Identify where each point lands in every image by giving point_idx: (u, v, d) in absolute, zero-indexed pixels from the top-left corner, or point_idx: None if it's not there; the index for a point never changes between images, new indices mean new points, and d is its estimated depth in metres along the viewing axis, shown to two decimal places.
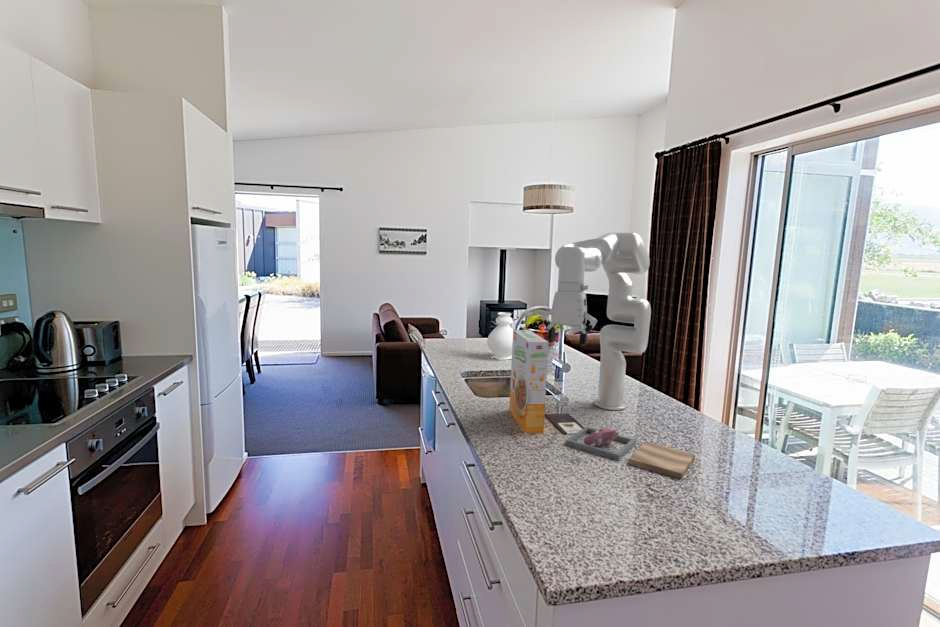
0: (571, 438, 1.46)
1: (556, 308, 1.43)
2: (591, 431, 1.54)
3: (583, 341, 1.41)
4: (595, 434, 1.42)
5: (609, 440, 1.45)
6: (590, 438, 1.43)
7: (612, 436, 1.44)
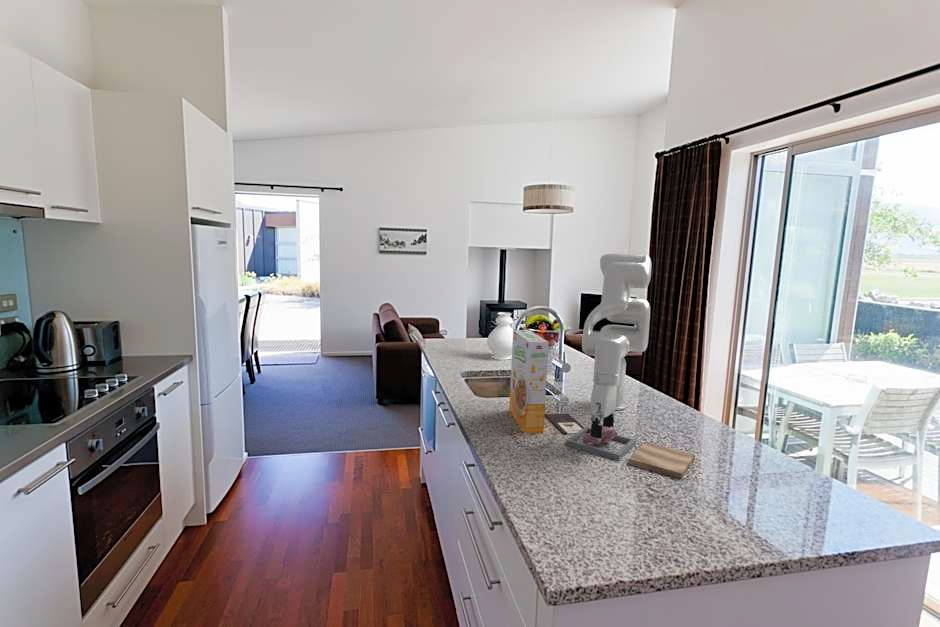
0: (571, 438, 1.46)
1: (608, 402, 1.40)
2: None
3: None
4: None
5: (608, 439, 1.46)
6: (589, 437, 1.43)
7: (611, 435, 1.45)
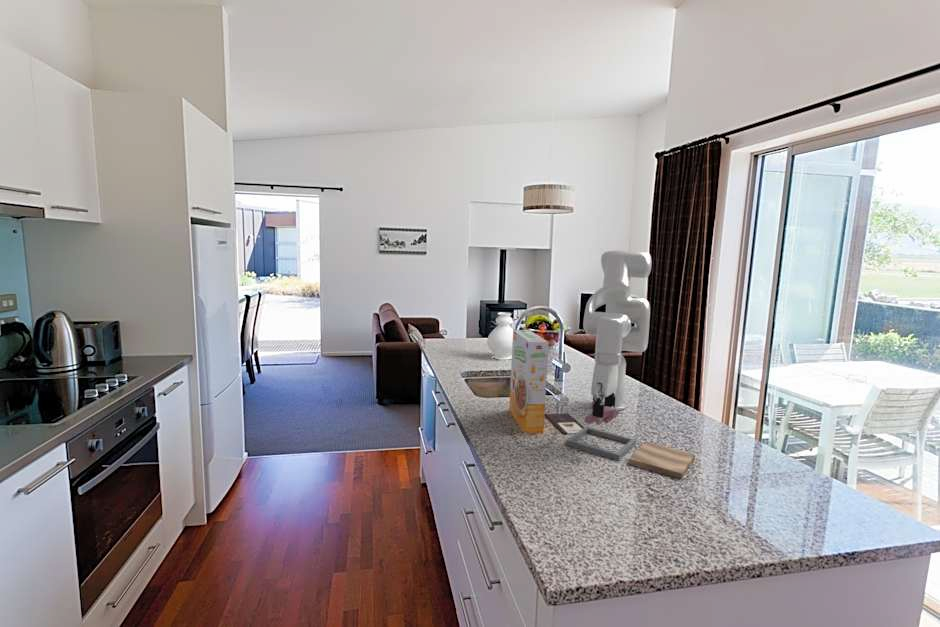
0: (571, 438, 1.46)
1: (609, 381, 1.39)
2: (591, 431, 1.54)
3: None
4: None
5: (609, 419, 1.46)
6: (590, 417, 1.43)
7: (613, 415, 1.45)
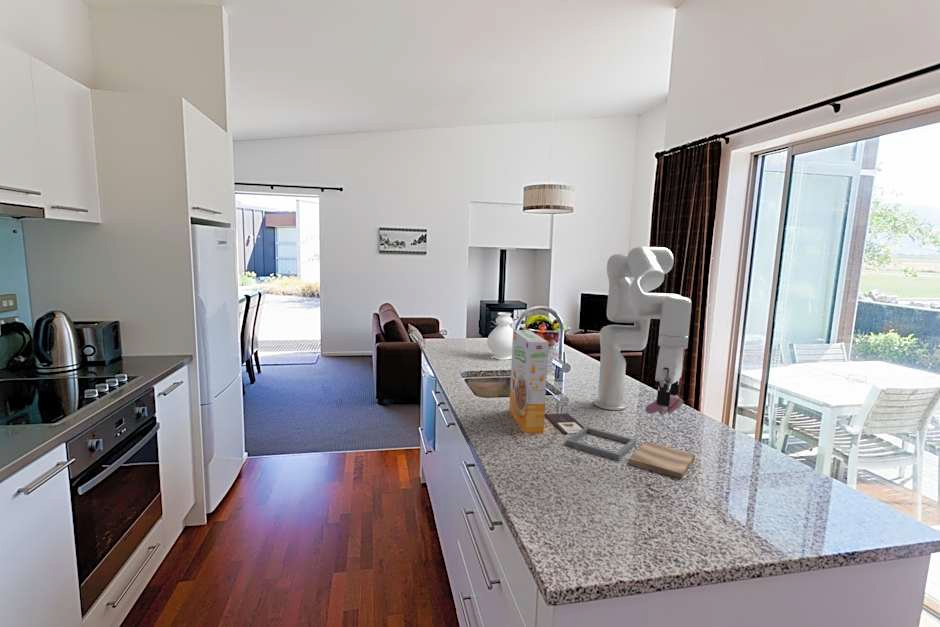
0: (571, 438, 1.46)
1: (676, 366, 1.28)
2: (591, 431, 1.54)
3: None
4: None
5: (673, 408, 1.34)
6: (654, 406, 1.31)
7: (677, 404, 1.33)
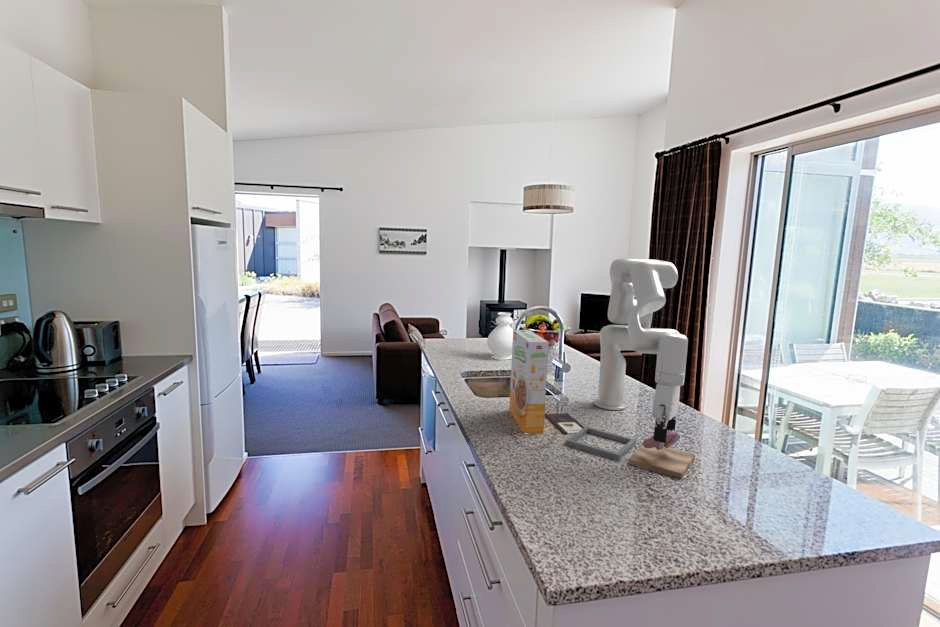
0: (571, 438, 1.46)
1: (673, 403, 1.29)
2: (591, 431, 1.54)
3: None
4: None
5: (670, 443, 1.35)
6: (651, 441, 1.33)
7: (674, 439, 1.34)
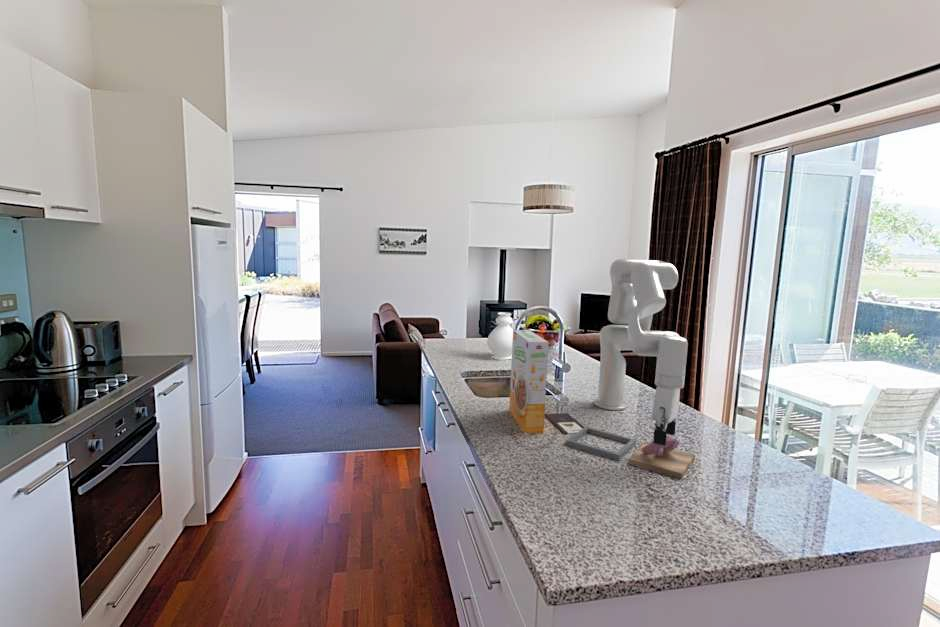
0: (571, 438, 1.46)
1: (673, 406, 1.29)
2: (591, 431, 1.54)
3: None
4: None
5: (669, 450, 1.35)
6: (650, 448, 1.33)
7: (673, 445, 1.34)
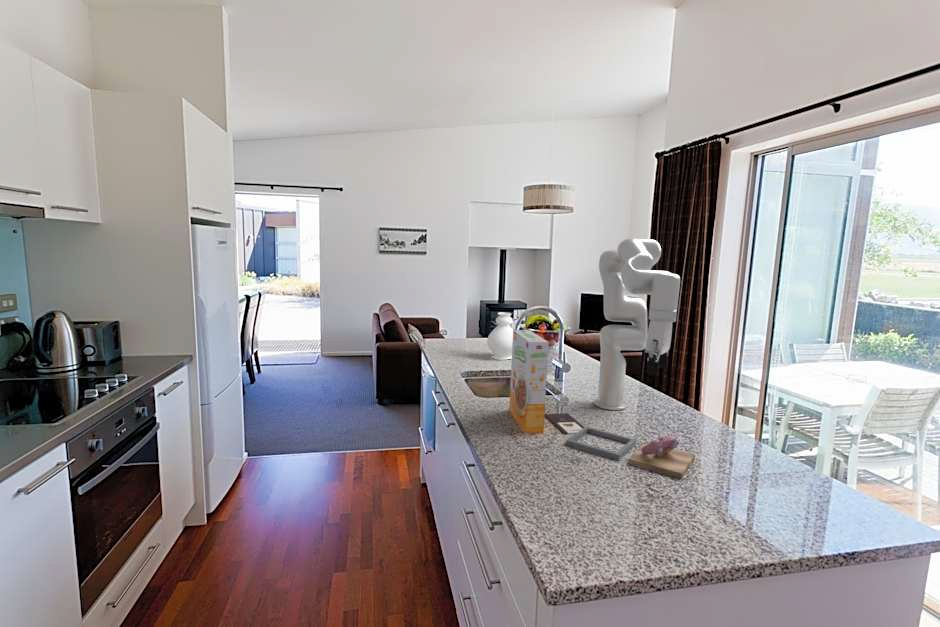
0: (571, 438, 1.46)
1: (665, 338, 1.37)
2: (591, 431, 1.54)
3: None
4: (655, 443, 1.32)
5: (669, 449, 1.35)
6: (649, 448, 1.33)
7: (672, 445, 1.35)
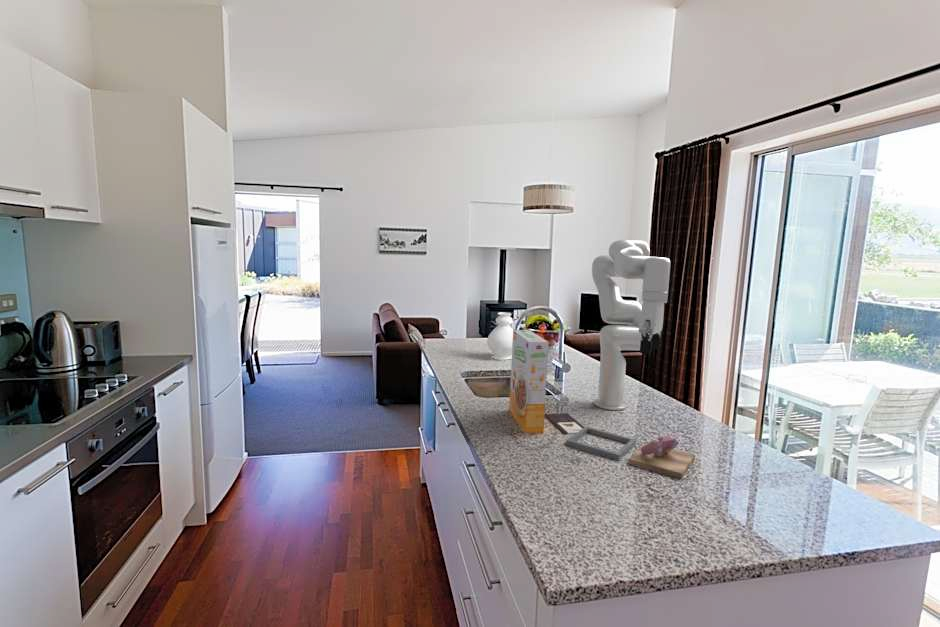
0: (571, 438, 1.46)
1: (657, 318, 1.44)
2: (591, 431, 1.54)
3: None
4: (655, 443, 1.32)
5: (668, 449, 1.36)
6: (649, 447, 1.33)
7: (672, 445, 1.35)
